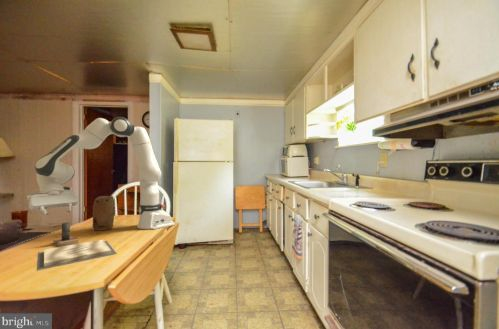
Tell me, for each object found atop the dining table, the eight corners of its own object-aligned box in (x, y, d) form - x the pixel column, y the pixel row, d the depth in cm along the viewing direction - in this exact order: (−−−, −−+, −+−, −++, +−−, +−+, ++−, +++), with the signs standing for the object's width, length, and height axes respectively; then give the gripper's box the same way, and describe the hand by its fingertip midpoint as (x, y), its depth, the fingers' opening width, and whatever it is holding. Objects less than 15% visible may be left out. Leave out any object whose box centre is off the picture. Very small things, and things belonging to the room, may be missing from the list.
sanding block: (53, 244, 117) (53, 223, 117) (70, 241, 123) (70, 220, 123) (60, 248, 111) (61, 226, 111) (78, 244, 117) (78, 223, 117)
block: (114, 227, 150) (115, 195, 150) (111, 230, 142) (111, 196, 143) (95, 228, 147) (95, 195, 147) (90, 231, 140) (90, 197, 140)
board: (102, 242, 118) (102, 239, 118) (110, 253, 104) (110, 249, 104) (44, 252, 104) (44, 249, 104) (44, 267, 89) (44, 263, 89)
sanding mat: (106, 242, 121) (106, 240, 121) (117, 255, 104) (117, 253, 104) (38, 254, 104) (38, 252, 104) (36, 272, 87) (36, 270, 87)
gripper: (27, 190, 119) (33, 212, 113) (75, 187, 136) (82, 206, 130) (24, 198, 121) (30, 220, 116) (72, 194, 138) (79, 213, 132)
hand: (58, 212), depth 123 cm, fingers open, 8 cm apart
